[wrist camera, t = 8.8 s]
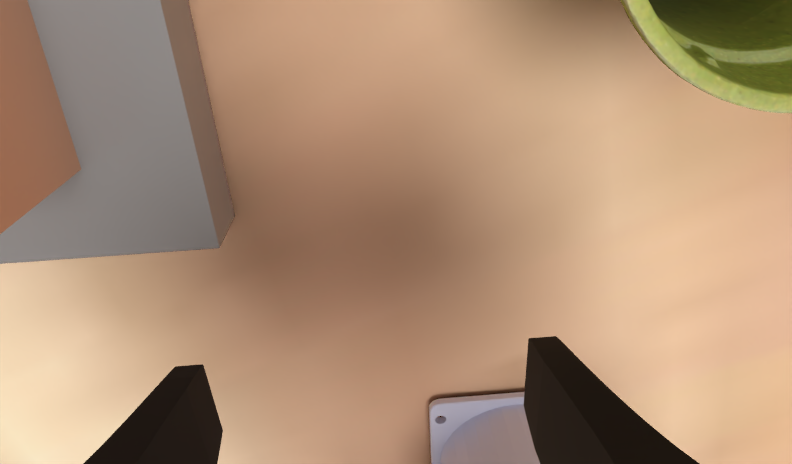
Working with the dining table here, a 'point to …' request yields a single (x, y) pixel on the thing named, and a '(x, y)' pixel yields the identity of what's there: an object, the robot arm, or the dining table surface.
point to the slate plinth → (127, 135)
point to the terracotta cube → (28, 119)
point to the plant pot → (723, 46)
